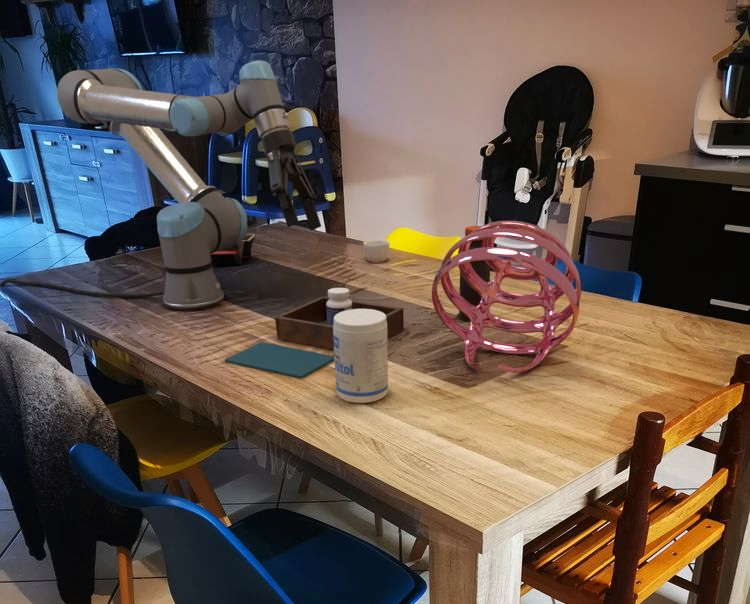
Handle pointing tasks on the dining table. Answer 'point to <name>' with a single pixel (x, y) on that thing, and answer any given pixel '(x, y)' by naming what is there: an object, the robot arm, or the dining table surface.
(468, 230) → the vinegar
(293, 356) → the mat
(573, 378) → the dining table surface
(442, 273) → the spiral basket
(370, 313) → the supplement tub
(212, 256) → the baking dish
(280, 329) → the wooden tray
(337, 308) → the pill bottle
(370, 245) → the teacup
